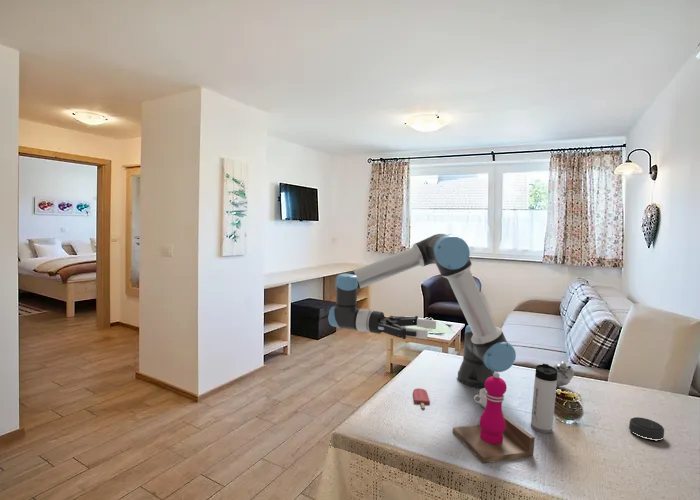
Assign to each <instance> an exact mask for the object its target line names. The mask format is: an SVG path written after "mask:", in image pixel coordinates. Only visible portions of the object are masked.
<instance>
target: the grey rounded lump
mask: <svg viewBox="0 0 700 500" xmlns="http://www.w3.org/2000/svg"><path fill="white" fill-rule="evenodd" d="M553 367H554V368H555V369H557V371H558V372H557V385H556V387H564V386H566V385H569V383H571V380H572V379H573V377H574V376H575V372H574V369H573V368H572V365H567V363H566V362H565V361H560V363H557V364H554V366H553Z"/></svg>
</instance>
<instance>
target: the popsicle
mask: <svg viewBox="0 0 700 500" xmlns="http://www.w3.org/2000/svg"><path fill="white" fill-rule="evenodd" d="M412 394H413V403H414V404H418V405H420V407H421V409H422V410H425V409H426V406H425V405H429V404H430V405H431V401H430V397H429V394H428V391H427V390H426V389H424V388H414V389H413V391H412ZM430 405H429V406H430Z"/></svg>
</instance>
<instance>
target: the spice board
mask: <svg viewBox="0 0 700 500" xmlns="http://www.w3.org/2000/svg"><path fill="white" fill-rule="evenodd" d="M502 414H503V417H504V419H505V423H506V429H505V431H504V432H503V433H502V434H503V442H502V443H500V444H490V443H487V442H485V441H483V440H482V439H481V437H480V432H481V429H482V428H481V426H480V424H474V425H465V426H463V425H462V426H454V427H452V433H453V434H454V435H455V436H456V437H457V438H458V439H459V441H461V443H463V444H464V445H465V446H466V448H468V449H469V450H470V451H471V452H472V454H474V455H475V456H476V457H477V458H478V459H479V460H480V462H481V463H482V464H485V462H487V463H493V461H495V462H500V461H508V460H516V459H522V458H524V459H525V458H530V457H534V452H535V451H534V450H535V440H536V437H535V436H534V435H533V434H531V433H530V432H529V431H527V430H526V429H525V428H523V427H521V426H520V425H519V424H517V423H516V421H514V420H513V419H511V418H510V417H509V416H507V415H506V414H504V413H503V412H502Z"/></svg>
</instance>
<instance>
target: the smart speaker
mask: <svg viewBox="0 0 700 500" xmlns="http://www.w3.org/2000/svg"><path fill="white" fill-rule="evenodd" d="M628 429H630V430H631V431H632V432H634V433H636V434H638V435H640V436H643V437H647V438H652V439H661V438H663V437H664V438H665V428H664V427H663V425H662V424H660V423H658V422H656V421H654V420H652V419H650V418H649V419H648V418H646V417H645V418H644V417H639V416H638V417H637V416H636V417H632V418H630V420H629V424H628ZM630 430H629V431H630ZM631 431H630V432H631ZM632 432H631V433H632ZM664 438H663V439H664Z"/></svg>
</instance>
